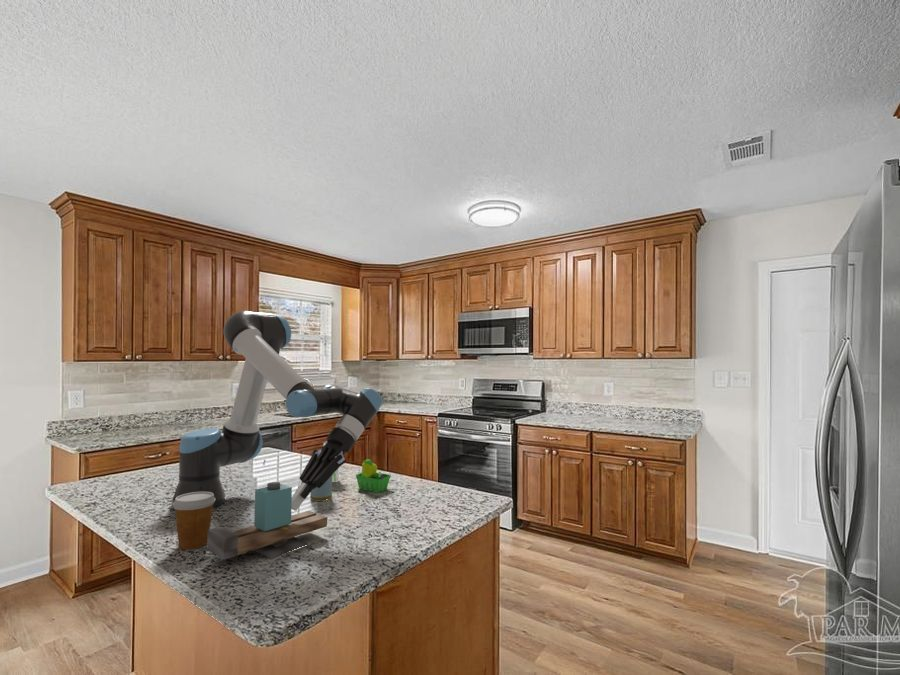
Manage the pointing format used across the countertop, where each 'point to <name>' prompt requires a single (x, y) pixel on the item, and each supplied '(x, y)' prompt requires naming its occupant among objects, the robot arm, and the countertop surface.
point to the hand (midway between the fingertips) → (291, 507)
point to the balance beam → (264, 537)
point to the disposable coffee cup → (193, 518)
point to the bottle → (322, 491)
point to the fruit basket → (372, 478)
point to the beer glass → (335, 473)
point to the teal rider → (273, 506)
